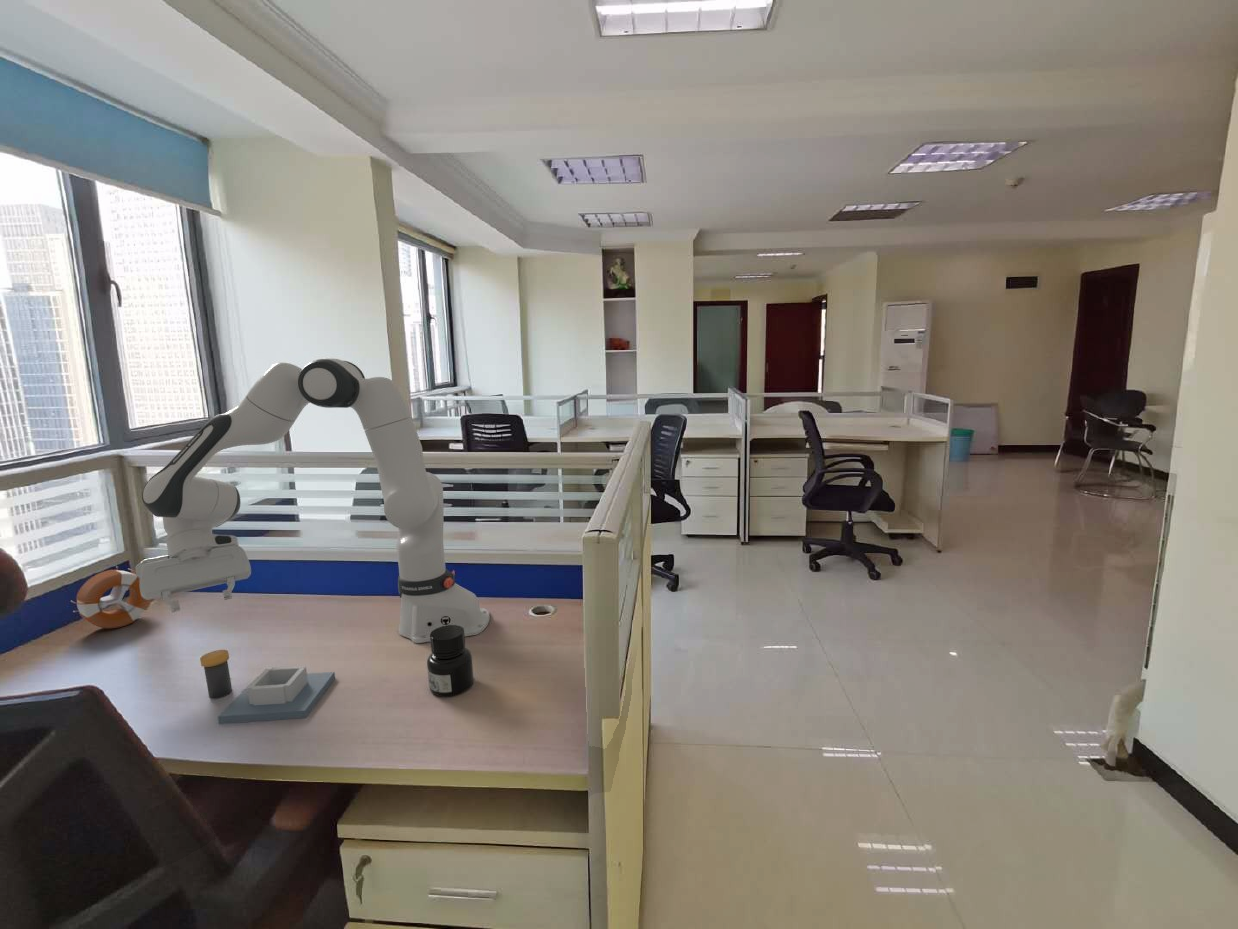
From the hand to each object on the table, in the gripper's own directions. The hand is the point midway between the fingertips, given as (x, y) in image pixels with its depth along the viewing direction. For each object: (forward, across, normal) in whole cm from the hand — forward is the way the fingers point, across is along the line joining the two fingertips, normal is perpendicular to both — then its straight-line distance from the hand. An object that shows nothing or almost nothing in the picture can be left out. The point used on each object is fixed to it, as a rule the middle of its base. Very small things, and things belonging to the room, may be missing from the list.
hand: (202, 604), depth 128 cm
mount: (+28, +10, -6) cm, 30 cm away
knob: (+20, 0, +2) cm, 20 cm away
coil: (-21, -17, +44) cm, 52 cm away
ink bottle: (+41, +38, -19) cm, 59 cm away
